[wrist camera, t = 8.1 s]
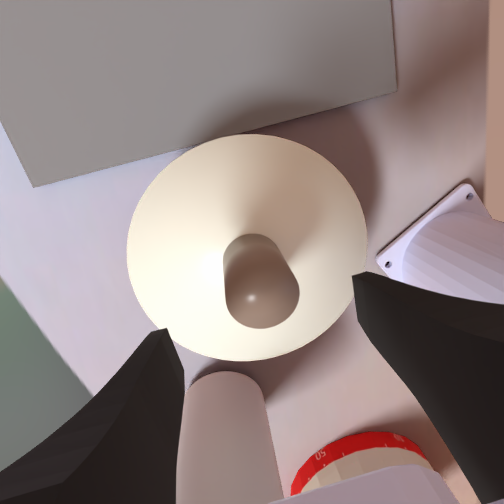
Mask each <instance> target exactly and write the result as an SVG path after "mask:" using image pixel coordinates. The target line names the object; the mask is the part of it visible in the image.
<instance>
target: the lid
mask: <svg viewBox="0 0 504 504" xmlns="http://www.w3.org/2000/svg"><path fill="white" fill-rule="evenodd" d="M367 248H368V243H367V228H366V223H365V217H364V214H363V211H362V208H361V205H360V202H359V200H358V198H357V196H356V194H355V192H354V190H353V189H352V187H351V186H350V184H349V183H348V181H347V180H346V178H345V177H344V176H343V175H342V174H341V173H340V172H339V170H338V169H337V168H336V167H335V166H334V165H333V164H331V163H330V162H329V161H328V160H326V159H325V158H324V157H323V156H322V155H320V154H318V153H317V152H315V151H313V150H312V149H310V148H308V147H306V146H304V145H301V144H299V143H297V142H294V141H292V140H288V139H284V138H280V137H276V136H269V135H260V134H242V135H233V136H227V137H221V138H218V139H215V140H212V141H209V142H205V143H203V144H201V145H199V146H197V147H195V148H193V149H191V150H189V151H187V152H186V153H184V154H183V155H181V156H180V157H178V158H177V159H175V160H174V161H172V162H171V163H170V164H169V165H168V166H167V167H166V168H165V169H164V170H162V171H161V172H160V173H159V174H158V175H157V177H156V178H155V179H154V180H153V181H152V183H151V184H150V185H149V186H148V188H147V189H146V191H145V193H144V194H143V196H142V198H141V199H140V201H139V203H138V205H137V208H136V210H135V212H134V215H133V217H132V221H131V225H130V228H129V232H128V240H127V266H128V271H129V277H130V281H131V284H132V287H133V290H134V293H135V295H136V297H137V299H138V301H139V303H140V305H141V306H142V308H143V309H144V311H145V312H146V314H147V315H148V317H149V318H150V319H151V320H152V321H153V323H154V324H155V325H156V326H157V327H158V328H159V329H164V328H167V329H168V332H169V334H170V337H171V339H172V340H174V341H175V342H177V343H178V344H180V345H182V346H184V347H186V348H188V349H190V350H192V351H194V352H196V353H199V354H202V355H205V356H208V357H212V358H216V359H221V360H229V361H255V360H263V359H268V358H273V357H277V356H280V355H283V354H286V353H289V352H291V351H294V350H296V349H298V348H300V347H302V346H304V345H306V344H307V343H309V342H311V341H312V340H314V339H315V338H317V337H318V336H319V335H321V334H322V333H323V332H325V331H326V330H327V329H328V328H329V327H330V326H331V325H332V324H333V323H334V322H335V321H336V320H337V319H338V318H339V317H340V316H341V314H342V313H343V312H344V311H345V309H346V308H347V306H348V305H349V303H350V302H351V300H352V299H353V297H354V290H353V283H352V275H356V274H359V273H363V272H364V268H365V264H366V258H367Z"/></svg>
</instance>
